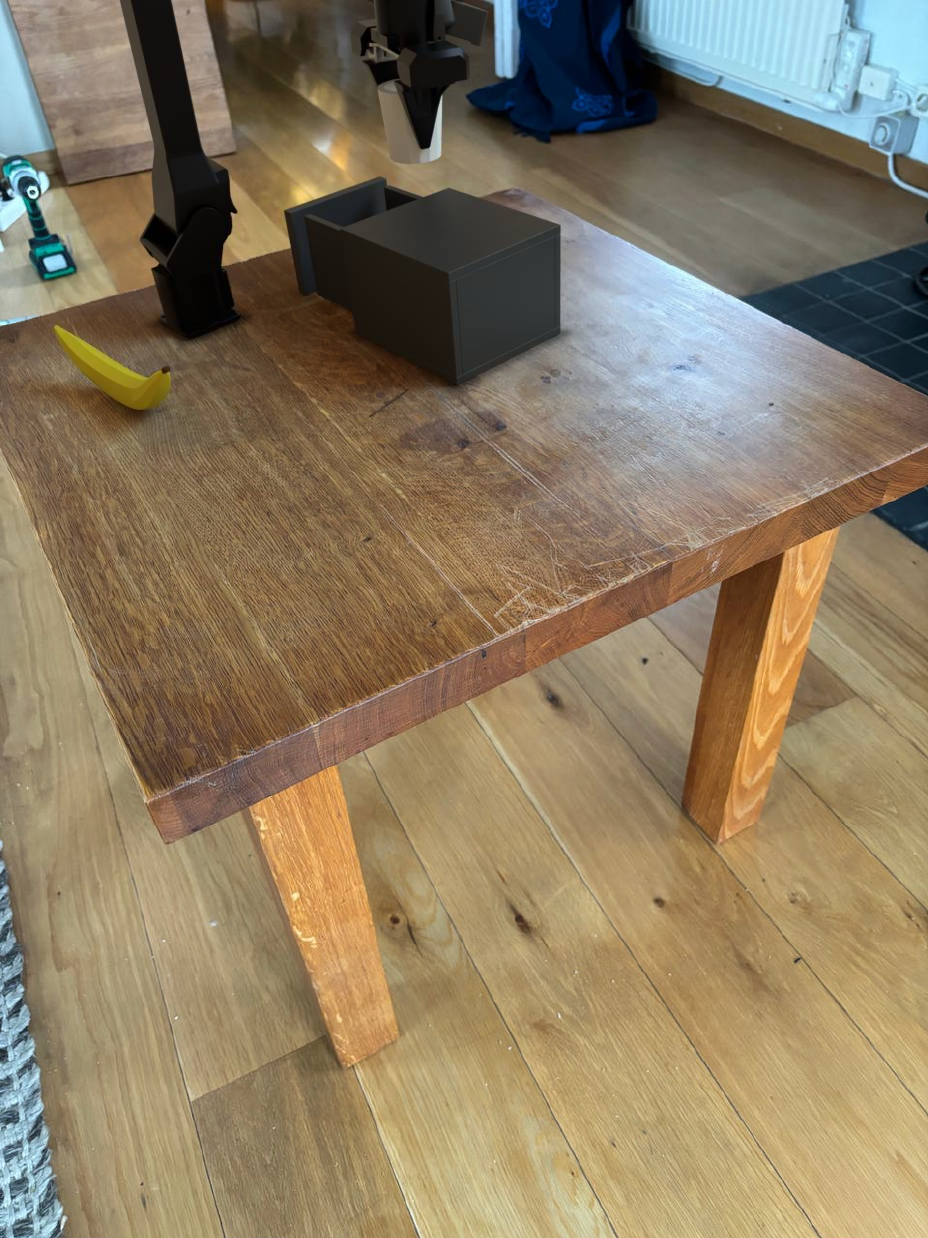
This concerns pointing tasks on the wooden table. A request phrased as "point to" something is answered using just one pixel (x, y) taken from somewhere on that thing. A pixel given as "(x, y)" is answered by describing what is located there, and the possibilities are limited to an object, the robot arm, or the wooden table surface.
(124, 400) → the banana
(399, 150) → the white cylinder
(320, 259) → the drawer
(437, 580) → the wooden table surface
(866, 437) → the wooden table surface
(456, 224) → the cabinet
